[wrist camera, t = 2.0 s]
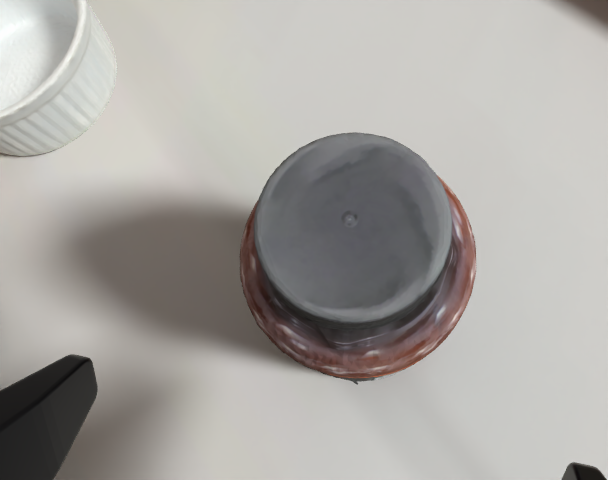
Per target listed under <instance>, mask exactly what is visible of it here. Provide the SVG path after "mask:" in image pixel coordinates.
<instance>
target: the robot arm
mask: <svg viewBox="0 0 608 480" xmlns="http://www.w3.org/2000/svg"><path fill="white" fill-rule="evenodd" d="M96 395H97V382H96V377H95V372H94V368H93V363H92V361H91V360H90V358H88V357H83V356H79V355H68V356H66V357H64V358H62V359H60V360H58V361H56V362H54V363H52V364H50V365H48V366H47V367H45V368H43V369H41V370H39V371H37V372H35V373H33V374H31V375H29V376H28V377H26V378H24V379H22V380H20V381H18V382H16V383H14V384H12V385H10V386H8V387H7V388H5V389H3V390H1V391H0V480H53V479H54V477H55V476H56V474H57V472H58V471H59V469H60V467H61V465H62V463H63V462H64V460H65V458H66V456H67V454H68V452H69V450H70V448H71V446H72V444H73V442H74V440H75V438H76V436H77V434H78V432H79V430H80V428H81V426H82V424H83V422H84V420H85V418H86V416H87V414H88V412H89V410H90V408H91V406H92V404H93V402H94V400H95V398H96ZM562 480H607V479H606V478H605V477H604V475H603V474H602V473H601V472H600V470H598V469H597V468H596V467H593V466H589V465H585V464H580V463H575V462H574V463H570V464H569V465H568V467H567V469H566V471H565V473H564V475H563V477H562Z"/></svg>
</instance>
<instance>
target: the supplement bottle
mask: <svg viewBox="0 0 608 480" xmlns="http://www.w3.org/2000/svg"><path fill="white" fill-rule="evenodd" d="M475 274H476V247H475V241H474V236H473V233H472V228H471V225H470V223H469V220H468V217H467V215H466V213H465V211H464V209H463V207H462V205H461V203H460V201H459V200H458V199H457V197H456V195H455V194H454V193H453V192H452V190H451V189H450V188H449V187H448V186H447V184H446V183H445V182H444V181H443V180H442V179H441V178H440V177H438V176H437V175H436V173H435V172H434V171H433V170H432V169H431V168H430V167H429V165H428V164H427V162H426V161H425V160H424V159H423V158H422V157H420V156H419V155H418V154H416V153H414V152H413V151H412V150H410V149H409V148H407V147H406V146H404V145H402V144H400V143H398V142H396V141H394V140H392V139H389V138H386V137H382V136H377V135H373V134H364V133H347V134H346V133H343V134H337V135H331V136H327V137H324V138H321V139H318V140H315V141H313V142H311V143H309V144H307V145H305V146H303V147H301V148H299V149H298V150H297V151H296V152H294V153H293V154H291V155H290V156H289V157H288V158H287V159H286V160H284V161H283V162H282V163H281V164H280V166H279V167H277V168H276V170H275V171H274V173H273V174H272V175H271V176H270V178H269V179H268V181H267V183H266V185H265V186H264V188H263V191H262V193H261V195H260V197H259V200H258V201H257V203H256V204H255V206H254V208H253V210H252V212H251V214H250V217H249V218H248V221H247V223H246V226H245V230H244V233H243V236H242V241H241V249H240V275H241V282H242V287H243V291H244V295H245V297H246V300H247V303H248V306H249V308H250V310H251V312H252V314H253V316H254V318H255V320H256V322H257V325H258V326H259V327H260V328H261V329H262V330H263V332H264V333H265V334H266V335H267V336H268V338H269V339H270V340H271V342H272V343H274V344H275V345H276V346H277V347H278V348H279V349H280V350H281V351H282V352H283V353H286V354H287V355H288V356H290V357H291V358H293V359H294V360H295V361H297V362H299V363H301V364H303V365H304V366H306V367H308V368H311V369H314V370H317V371H320V372H321V373H323V374H326V375H330V376H333V377H336V378H341V379H346V380H350V381H353V382H354V383H355V384H358V383H357V382H356V381H369V380H371V381H372V380H377V379H382V378H385V377H388V376H391V375H394V374H396V373H398V372H400V371H402V370H404V369H406V368H408V367H409V366H411V365H414V364H415V363H416V362H418V361H420V360H421V359H423V358H424V357H426V356H427V355H428V354H429V353H431V352H432V351H434V350H435V349H436V348H437V347H438V346H439V345H440V344H441V343H442V342H443V341H444V340H445V339H446V338H447V337H448V335H449V334H450V333H451V331H452V330H453V329H454V327H455V326H456V324H457V322H458V321H459V319H460V317H461V316H462V314H463V312H464V310H465V308H466V306H467V303H468V301H469V298H470V296H471V293H472V289H473V283H474V279H475Z"/></svg>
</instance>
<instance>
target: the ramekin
mask: <svg viewBox="0 0 608 480" xmlns="http://www.w3.org/2000/svg"><path fill="white" fill-rule="evenodd" d="M116 75H117V61H116V58H115V51H114V49H113V47H112V43H111V41H110V39H109V37H108V35H107V33H106V32H105V30H104V28H103V26H102V25H101V23H100V22H99V20H98V18H97V17H96V15H95V13H94V12H93V10H92V8H91V7H90V5H89V3H88V0H0V152H1V153H5V154H9V155H16V156H29V155H38V154H43V153H48V152H51V151H53V150H56V149H59V148H61V147H63V146H64V145H66V144H68V143H70V142H71V141H73V140H75V139H76V138H78V137H79V136H80V135H82V134H83V133H84V132H85V131H87V130H88V129H89V128H90V127H91V126H92V125H93V124H94V123H95V122H96V121H97V119H98V118H99V117H100V116H101V115H102V113H103V111H104V109H105V108H106V106H107V104H108V103H109V100H110V98H111V95H112V93H113V90H114V86H115V82H116Z"/></svg>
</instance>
